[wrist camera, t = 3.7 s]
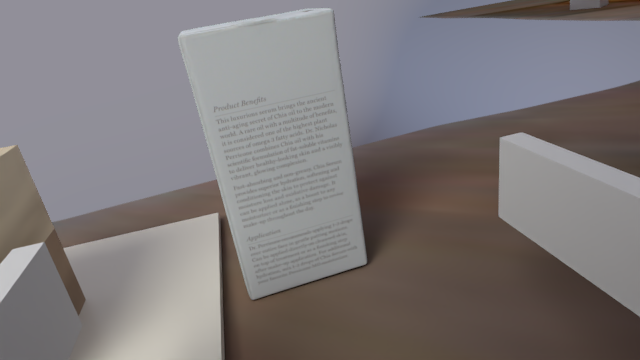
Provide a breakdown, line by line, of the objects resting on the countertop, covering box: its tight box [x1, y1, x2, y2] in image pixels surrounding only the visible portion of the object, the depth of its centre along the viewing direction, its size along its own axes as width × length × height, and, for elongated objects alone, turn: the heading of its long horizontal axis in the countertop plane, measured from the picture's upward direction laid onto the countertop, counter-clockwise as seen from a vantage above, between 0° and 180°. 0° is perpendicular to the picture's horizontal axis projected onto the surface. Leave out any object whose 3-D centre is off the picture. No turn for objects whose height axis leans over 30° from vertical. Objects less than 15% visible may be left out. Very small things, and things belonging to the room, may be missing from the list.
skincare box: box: [178, 8, 367, 300], centre depth 20 cm, size 6×4×12 cm
